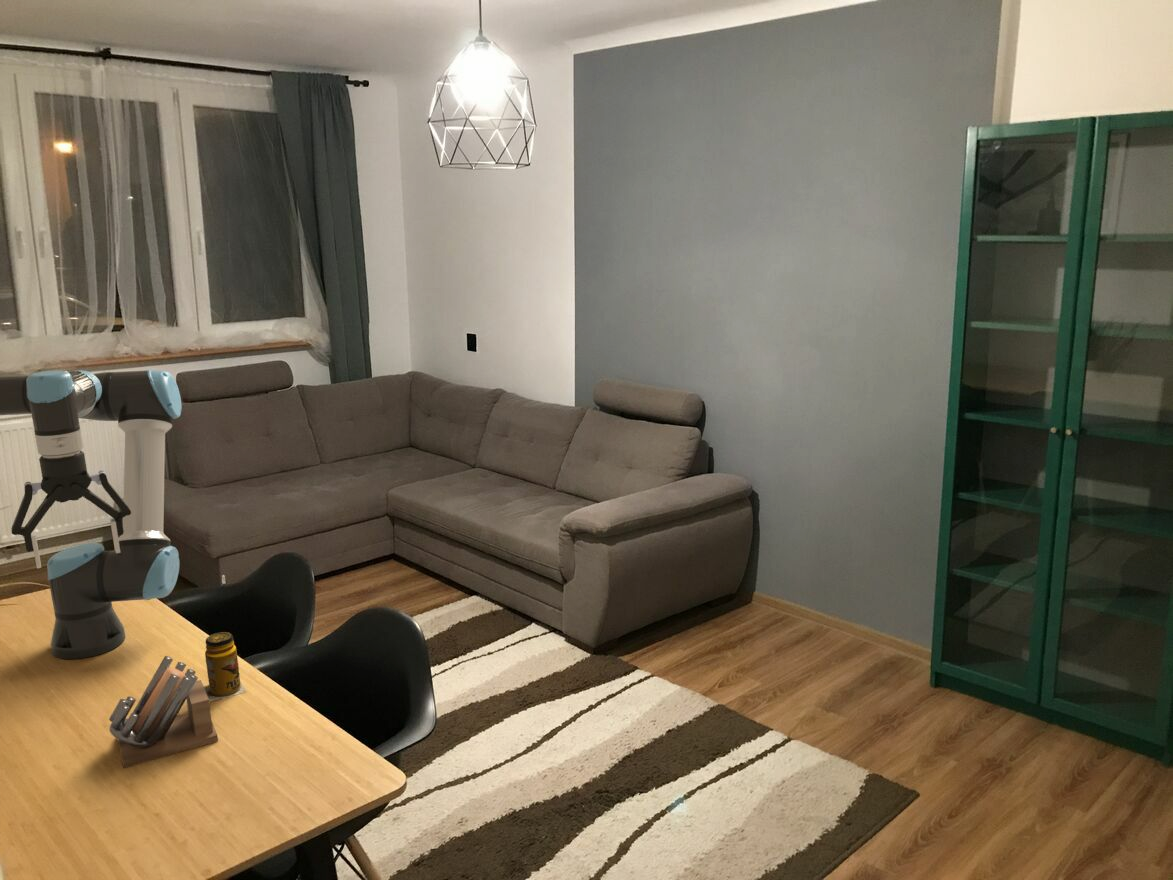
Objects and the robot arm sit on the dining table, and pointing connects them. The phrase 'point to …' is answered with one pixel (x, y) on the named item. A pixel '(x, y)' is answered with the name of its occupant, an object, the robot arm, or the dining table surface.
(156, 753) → the socket base
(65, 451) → the robot arm
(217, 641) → the condiment
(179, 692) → the socket
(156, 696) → the peg
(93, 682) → the dining table surface
